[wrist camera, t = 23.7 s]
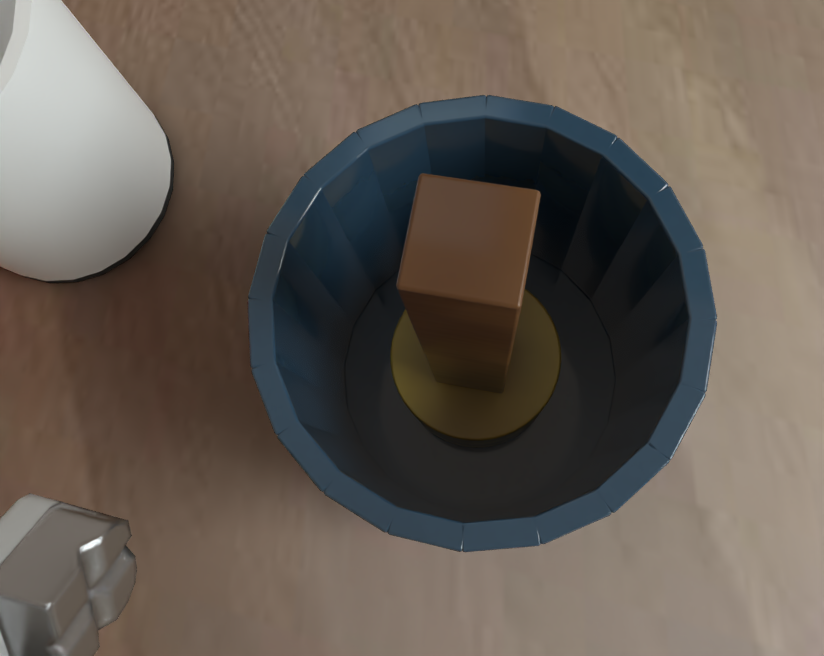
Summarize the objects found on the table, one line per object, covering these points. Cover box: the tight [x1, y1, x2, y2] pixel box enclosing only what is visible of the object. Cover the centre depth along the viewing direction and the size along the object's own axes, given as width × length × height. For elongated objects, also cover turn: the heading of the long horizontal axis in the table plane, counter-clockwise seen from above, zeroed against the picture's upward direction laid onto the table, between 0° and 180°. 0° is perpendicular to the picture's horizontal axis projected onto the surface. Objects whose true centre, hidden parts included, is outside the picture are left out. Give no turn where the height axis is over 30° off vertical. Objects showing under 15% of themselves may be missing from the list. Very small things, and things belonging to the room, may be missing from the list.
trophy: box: [390, 173, 561, 447], centre depth 19 cm, size 5×5×14 cm
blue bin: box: [247, 95, 717, 552], centre depth 22 cm, size 10×10×10 cm
